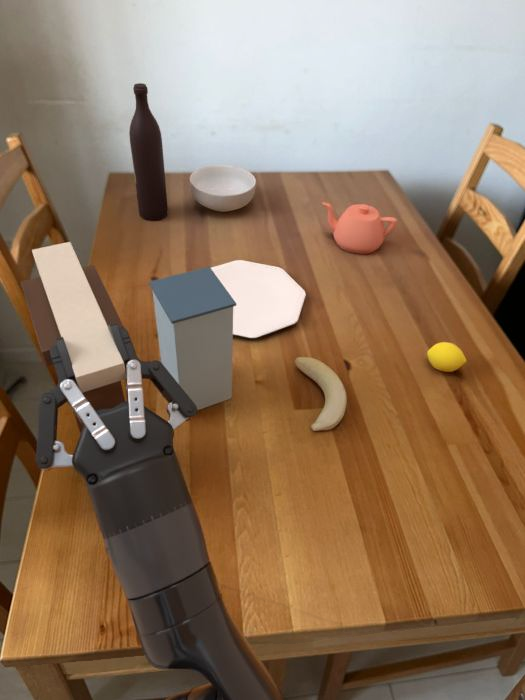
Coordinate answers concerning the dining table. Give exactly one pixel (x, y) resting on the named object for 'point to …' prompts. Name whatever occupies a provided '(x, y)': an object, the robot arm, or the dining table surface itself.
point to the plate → (260, 297)
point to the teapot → (359, 228)
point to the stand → (49, 332)
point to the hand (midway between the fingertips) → (86, 334)
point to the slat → (79, 318)
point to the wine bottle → (147, 159)
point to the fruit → (325, 392)
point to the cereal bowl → (222, 187)
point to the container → (196, 334)
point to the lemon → (446, 357)
